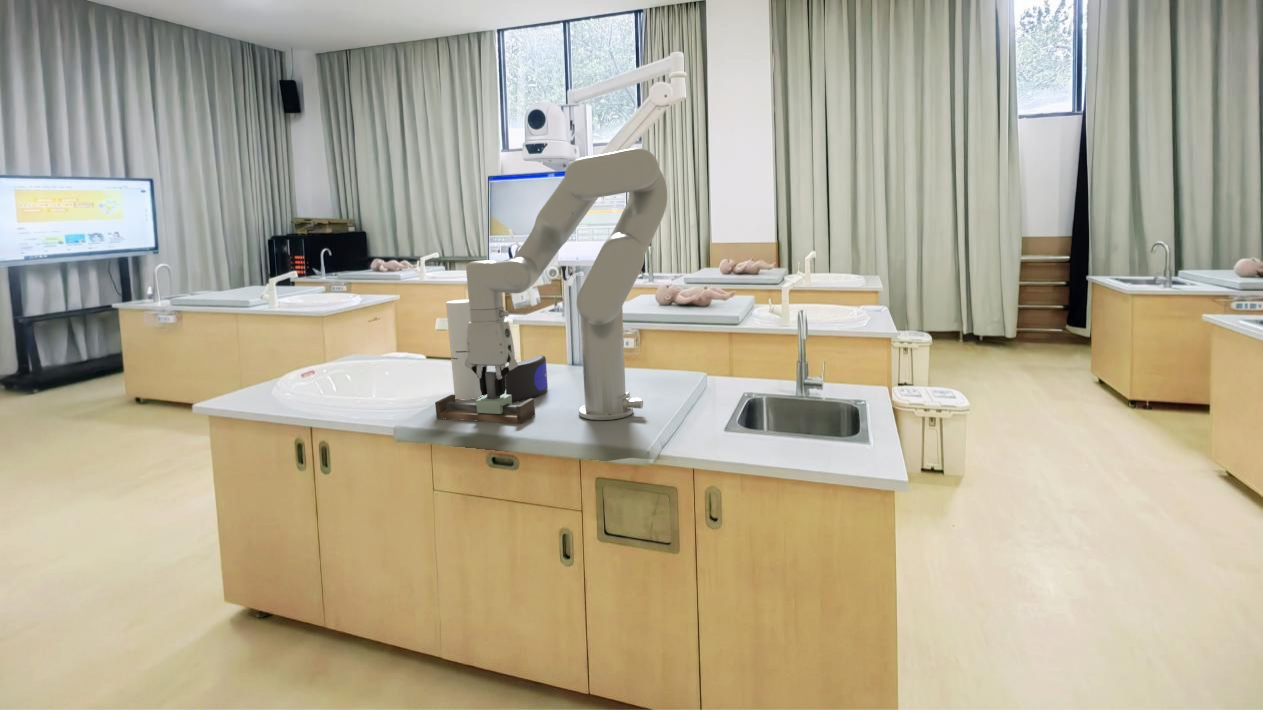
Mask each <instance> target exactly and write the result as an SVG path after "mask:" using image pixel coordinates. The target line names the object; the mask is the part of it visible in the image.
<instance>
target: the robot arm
mask: <svg viewBox="0 0 1263 710" xmlns="http://www.w3.org/2000/svg"><path fill="white" fill-rule="evenodd" d="M659 166H660V165H659V162H658V160H657V158H656V156H655V154H653V153H652V152H651V151H650V150H647V149H646V148H640V147H633V148H628V149H623V150H617V151H614V152H608V153H603V154H598V155H592V156H585V157H580V158H577V159H575V160H573V161H572V162H570V163H569V165H568V166H567V168H566V169H565V172H564V177H563V178H562V180H561V181H560V183H559V184H558V186H557V187H556V188H555V189H554V191H553V193H552V194H551V195H550V197H549V198H548V199H547V200H546V202H545V203H544V205H543V206H542V208H541V209H540V211H539V212H538V213H537V216H536V217H535V221H534V226H533V227H532V229H531V232H530V233H529V235H528V236H527V238H526V239H525V241H524V242H523V244H522V245H521V247H520V248H519V250H517V253H515V254H514V256H513V257H512V259H509V260H505V261H504V260H503V261H499V262H498V261H496V260H491V259H490V260H488V259H486V260H485V259H483V260H475V261H474V260H473V261H470V262H468V263H467V265H466V283H467V293H468V294H467V295H468V299H469V308H470V320H471V322H469V323H468V330H467V359H466V361H465V366H466V367H468V368H469V369H472V371H473V372H474V373H475V374H476V375H477V378H479V380H480V390H481V394H482V395H483V396H485V395H487V390H486V378H485V372H487V371H488V366H489V367H494V368H495V369H494V371H496V376H497V379H495V389H496V396H501V395H503V394H506V384H505V377H506V376H507V374H508V373H509V372H510V371H511V370H512V369H514V368H516V367H517V366H518V364H517V363H518V361H517V360H516V357H515V356H516V355H515V353H516V352H515V346H514V340H513V335H512V331H511V327H510V323H509V321H508V320H505V318H506V317H509V316H510V311H509V310H505V307H504V299H503V293H506V294H522V293H524V292H526V291H528V290H529V289H530V288H531V287H533V286H534V284H536V283H537V282H538V280H539V278H540V277H541V276H542V274H543V273H544V272H545V270H546V269H547V268H548V266H549V265H550V263H551V262H552V261H553V259H554V257H555V256H556V255H557V253H558V252H559V251H560V250H561V248H562V247H563V246H564V245H565V244H566V243H567V242H568V240H569V239H570V237H571V236H572V235H573V233H574V232H575V230H576V229H577V228H578V226H579V225H580V223H581V222H582V220H583V219H584V218H585V216H586V215H587V214H588V212H589V211H590V209H591V208H592V207H593V205H594V204H595V203H596V202H597V200H598V199H599V198H602V197H609V196H614V195H619V194H624V193H628V200H627V203H626V204H625V207H624V209H623V211H622V213H621V215H620V218H619V219H618V222H617V223H616V224H615V227H614V229H613V231H612V232H611V234H610V235H609V237H608V238H607V239H606V240H605V242H604V243H603V245H602V246H601V248H600V249H599V252H598V254H597V256H596V259H595V260H594V262H593V264H592V266H591V268H590V270H589V272H588V274H587V276H586V278H585V280H584V281H583V283H582V286H581V288H580V290H579V291H578V294H577V296H576V302H575V303H576V308H577V312H578V314H579V316H580V328H581V330H580V331H581V332H580V333H581V353H582V354H581V355H582V371H583V372H582V374H583V387H584V388H583V389H584V390H583V391H584V405H581V407H579V409H578V415H579V416H580V417H581V418H583V419H587V420H592V421H609V420H617V419H623V418H625V417H626V418H627V417H629V416H630V415H632V414H633V412H634V409H643V407H644V400H642V398H641V397H640V398H639V397H635V398H634V397H631V396H630V395H631V394H630V393H631V392H630V391H626V372H625V370H626V369H625V353H624V352H625V350H624V349H625V348H624V347H625V344H624V341H625V340H624V339H625V338H624V320H623V317H624V315H623V313H624V311H623V305H624V304H625V302H626V301H627V298H628V296H629V294H630V292H631V291H632V289H633V287H634V285H635V284H636V281H637V279H638V277H639V275H640V273H641V271H642V269H643V266H644V263H645V256H646V254H647V250H648V249H649V247H650V244H651V242H652V241H653V239H654V237H655V235H656V233H657V230H658V228H659V226H660V224H661V221H662V220H663V217H664V215H665V212H666V208H667V205H668V204H667V203H668V189H667V188H668V187H667V184H666V180H665V179H666V178H665V177H664V174H663V173H662V170H661V168H660V167H659ZM507 363H508V365H506V364H507ZM483 396H482V397H483Z"/></svg>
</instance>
